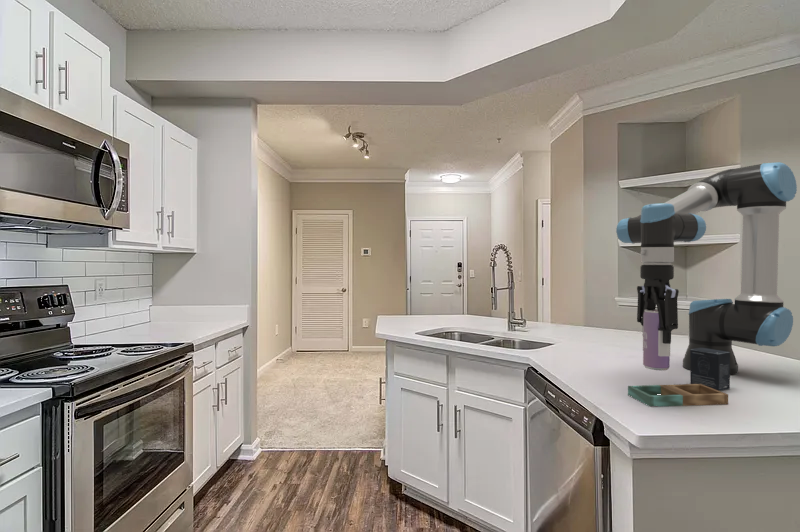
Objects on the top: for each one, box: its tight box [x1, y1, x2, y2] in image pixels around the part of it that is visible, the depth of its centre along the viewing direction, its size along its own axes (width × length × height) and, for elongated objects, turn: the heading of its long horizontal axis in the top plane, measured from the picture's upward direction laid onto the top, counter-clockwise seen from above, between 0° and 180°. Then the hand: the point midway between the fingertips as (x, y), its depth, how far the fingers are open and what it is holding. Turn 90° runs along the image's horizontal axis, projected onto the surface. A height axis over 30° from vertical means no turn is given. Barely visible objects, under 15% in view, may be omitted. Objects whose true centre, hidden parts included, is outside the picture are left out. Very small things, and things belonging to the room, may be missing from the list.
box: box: [689, 348, 731, 392], centre depth 130 cm, size 8×6×11 cm
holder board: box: [627, 383, 729, 407], centre depth 119 cm, size 21×10×2 cm, turn 94°
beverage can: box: [642, 308, 671, 371], centre depth 118 cm, size 6×6×15 cm
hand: (656, 353), depth 119 cm, fingers closed on beverage can, 6 cm apart
